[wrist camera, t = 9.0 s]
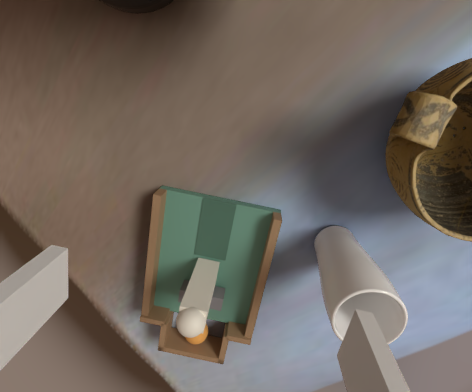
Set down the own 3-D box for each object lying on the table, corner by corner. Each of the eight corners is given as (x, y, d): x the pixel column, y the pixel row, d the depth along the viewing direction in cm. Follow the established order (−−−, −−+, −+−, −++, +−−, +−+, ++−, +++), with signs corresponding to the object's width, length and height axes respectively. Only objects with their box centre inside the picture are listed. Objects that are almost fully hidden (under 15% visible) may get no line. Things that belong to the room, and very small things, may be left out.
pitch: (162, 185, 41) (152, 195, 37) (280, 209, 41) (282, 222, 37) (147, 325, 49) (137, 345, 45) (245, 347, 49) (243, 368, 45)
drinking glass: (305, 261, 43) (325, 346, 29) (311, 217, 41) (336, 285, 27) (354, 265, 42) (400, 354, 28) (363, 220, 40) (417, 292, 26)
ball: (188, 318, 49) (187, 314, 46) (210, 323, 49) (210, 319, 46) (181, 342, 47) (180, 340, 44) (205, 347, 47) (205, 345, 44)
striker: (187, 254, 42) (160, 314, 31) (230, 263, 42) (218, 326, 31) (182, 291, 44) (155, 358, 33) (223, 299, 44) (209, 370, 33)
